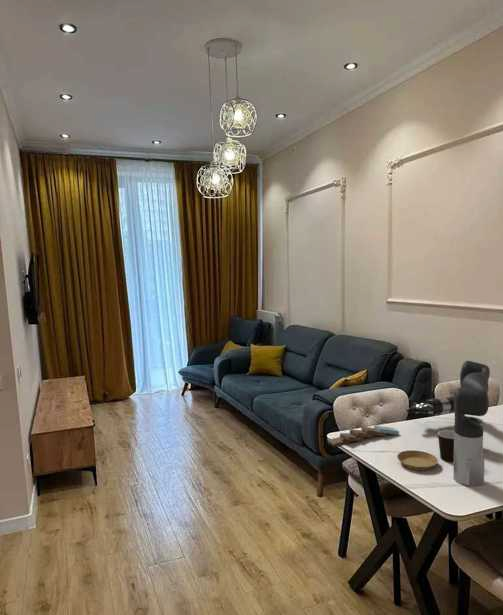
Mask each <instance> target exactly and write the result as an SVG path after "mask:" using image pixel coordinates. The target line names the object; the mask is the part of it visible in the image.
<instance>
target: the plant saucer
mask: <svg viewBox="0 0 503 615" xmlns="http://www.w3.org/2000/svg"><path fill="white" fill-rule="evenodd" d="M397 459H398V461H399V462H400V463H401V464H402V465H403V466H404V467H406V468H408V469H411V470H414V471H428V470H430V469H433V468H434V467H435V466H436V465H437V463H438V458H437V457H436V456H435V455H433V454H431V453H428V452H426V451H421V450H413V449H412V450H404V451H401V452H399V453H397Z"/></svg>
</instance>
